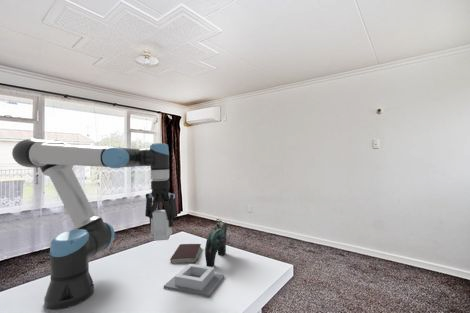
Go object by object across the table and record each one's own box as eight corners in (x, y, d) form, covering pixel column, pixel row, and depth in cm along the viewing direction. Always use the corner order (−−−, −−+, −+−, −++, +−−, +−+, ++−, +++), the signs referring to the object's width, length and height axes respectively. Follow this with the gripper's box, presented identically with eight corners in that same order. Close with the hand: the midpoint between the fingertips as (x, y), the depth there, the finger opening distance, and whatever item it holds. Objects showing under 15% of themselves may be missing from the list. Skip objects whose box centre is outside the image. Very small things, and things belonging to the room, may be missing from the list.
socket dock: (163, 288, 92) (163, 276, 92) (183, 270, 106) (183, 260, 106) (209, 297, 85) (209, 285, 85) (224, 277, 99) (224, 267, 99)
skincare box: (170, 236, 101) (169, 209, 101) (168, 240, 96) (167, 211, 96) (155, 237, 100) (154, 209, 100) (152, 241, 96) (152, 212, 96)
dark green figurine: (219, 251, 128) (218, 214, 128) (230, 252, 126) (229, 215, 126) (202, 267, 109) (202, 224, 109) (215, 269, 107) (214, 226, 107)
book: (169, 264, 114) (169, 257, 114) (179, 248, 133) (179, 243, 133) (195, 264, 113) (195, 257, 113) (201, 248, 133) (201, 243, 133)
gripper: (185, 179, 99) (186, 233, 99) (146, 178, 105) (148, 229, 105) (175, 180, 92) (177, 238, 91) (134, 180, 98) (136, 234, 98)
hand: (161, 233), depth 98 cm, fingers closed on skincare box, 7 cm apart
